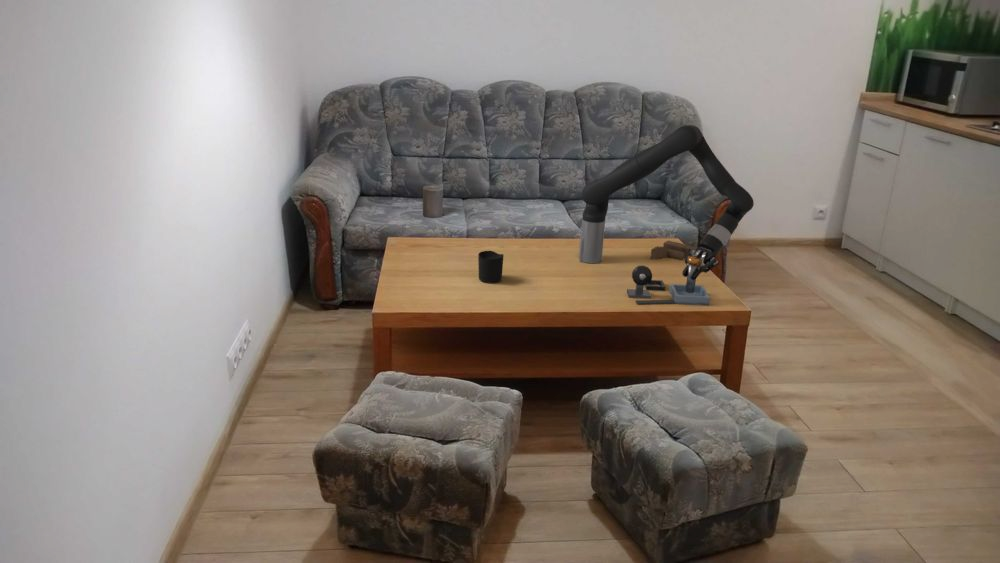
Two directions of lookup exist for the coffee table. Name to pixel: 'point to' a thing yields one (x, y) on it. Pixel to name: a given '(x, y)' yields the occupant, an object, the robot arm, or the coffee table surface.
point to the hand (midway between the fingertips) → (687, 277)
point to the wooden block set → (671, 250)
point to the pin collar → (655, 282)
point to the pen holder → (490, 266)
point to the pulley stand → (640, 282)
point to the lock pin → (693, 265)
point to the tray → (689, 295)
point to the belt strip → (654, 302)
